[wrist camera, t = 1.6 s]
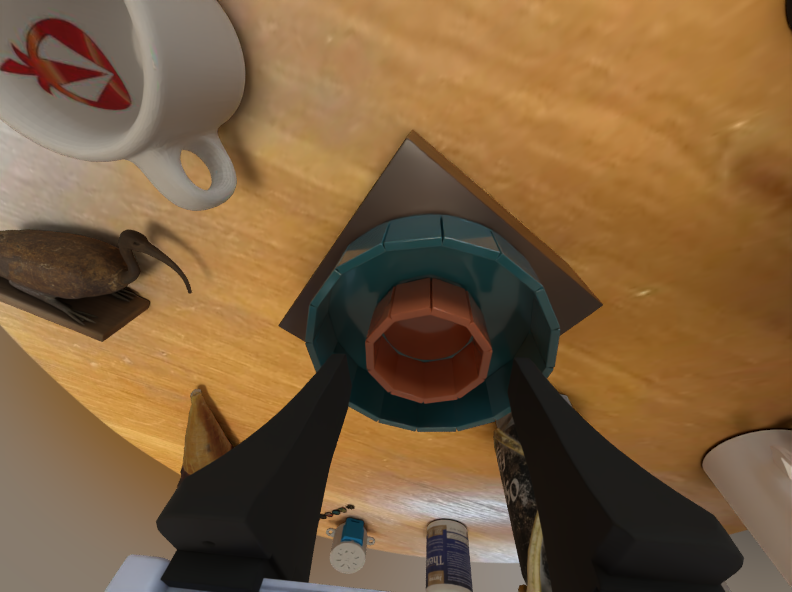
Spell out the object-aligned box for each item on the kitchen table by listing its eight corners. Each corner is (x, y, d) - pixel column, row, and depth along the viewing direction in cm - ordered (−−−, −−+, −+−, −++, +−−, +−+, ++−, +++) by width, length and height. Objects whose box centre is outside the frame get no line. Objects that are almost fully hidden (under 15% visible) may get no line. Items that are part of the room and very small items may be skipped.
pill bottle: (436, 514, 40) (438, 621, 31) (474, 525, 40) (485, 633, 32) (420, 530, 42) (417, 633, 34) (455, 540, 43) (461, 643, 35)
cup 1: (315, 166, 19) (249, 201, 12) (209, 203, 21) (100, 252, 14) (208, -87, 14) (-15, -279, 7) (81, -5, 15) (-193, -90, 9)
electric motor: (333, 504, 44) (325, 534, 45) (326, 534, 39) (317, 567, 40) (380, 514, 44) (371, 544, 45) (379, 546, 39) (369, 579, 40)
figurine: (199, 329, 27) (217, 248, 22) (161, 366, 23) (173, 278, 18) (22, 253, 24) (2, 145, 20) (-54, 281, 20) (-99, 155, 16)
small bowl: (505, 314, 17) (520, 356, 14) (432, 374, 19) (432, 418, 17) (420, 251, 15) (418, 283, 12) (355, 326, 18) (341, 365, 15)
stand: (567, 263, 20) (604, 305, 16) (438, 370, 26) (439, 420, 22) (412, 129, 17) (406, 137, 13) (305, 286, 23) (277, 326, 19)
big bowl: (586, 306, 16) (617, 346, 14) (438, 412, 22) (439, 456, 19) (409, 158, 13) (403, 172, 11) (290, 325, 19) (267, 362, 16)
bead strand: (357, 507, 41) (350, 503, 40) (357, 508, 41) (350, 504, 40) (265, 536, 49) (258, 533, 48) (265, 537, 49) (258, 534, 48)
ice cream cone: (146, 391, 29) (171, 495, 35) (168, 427, 26) (191, 535, 32) (216, 365, 33) (228, 461, 39) (242, 393, 30) (250, 493, 36)
